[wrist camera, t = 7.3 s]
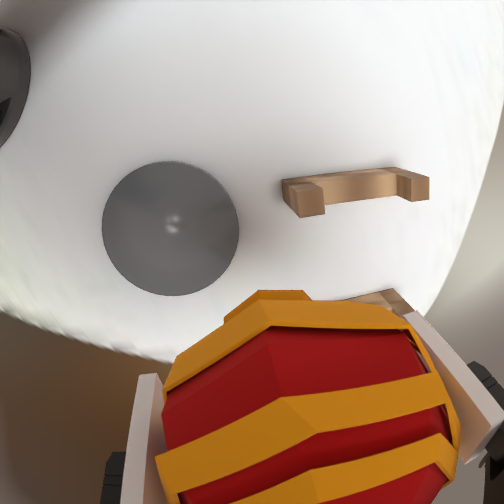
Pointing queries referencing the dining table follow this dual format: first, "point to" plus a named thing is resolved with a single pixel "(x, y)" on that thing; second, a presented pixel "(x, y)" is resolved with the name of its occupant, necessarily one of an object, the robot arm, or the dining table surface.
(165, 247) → the coaster
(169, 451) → the potion bottle
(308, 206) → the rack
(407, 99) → the dining table surface
